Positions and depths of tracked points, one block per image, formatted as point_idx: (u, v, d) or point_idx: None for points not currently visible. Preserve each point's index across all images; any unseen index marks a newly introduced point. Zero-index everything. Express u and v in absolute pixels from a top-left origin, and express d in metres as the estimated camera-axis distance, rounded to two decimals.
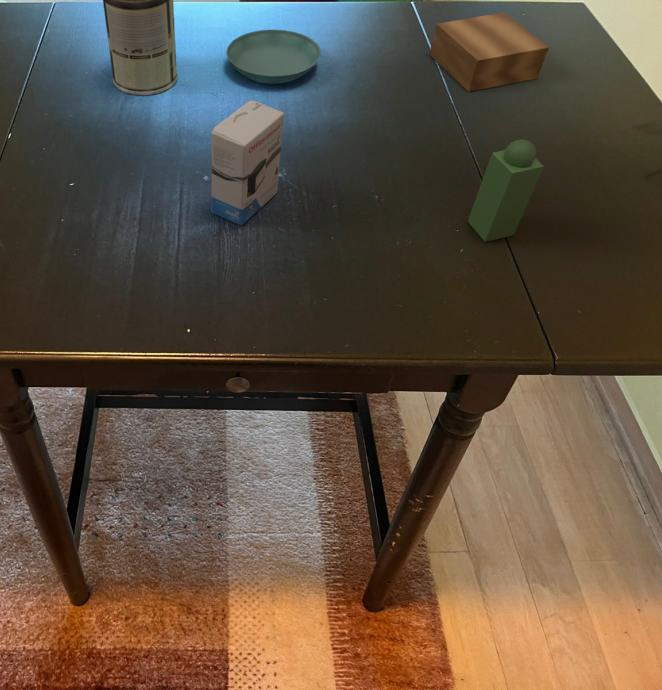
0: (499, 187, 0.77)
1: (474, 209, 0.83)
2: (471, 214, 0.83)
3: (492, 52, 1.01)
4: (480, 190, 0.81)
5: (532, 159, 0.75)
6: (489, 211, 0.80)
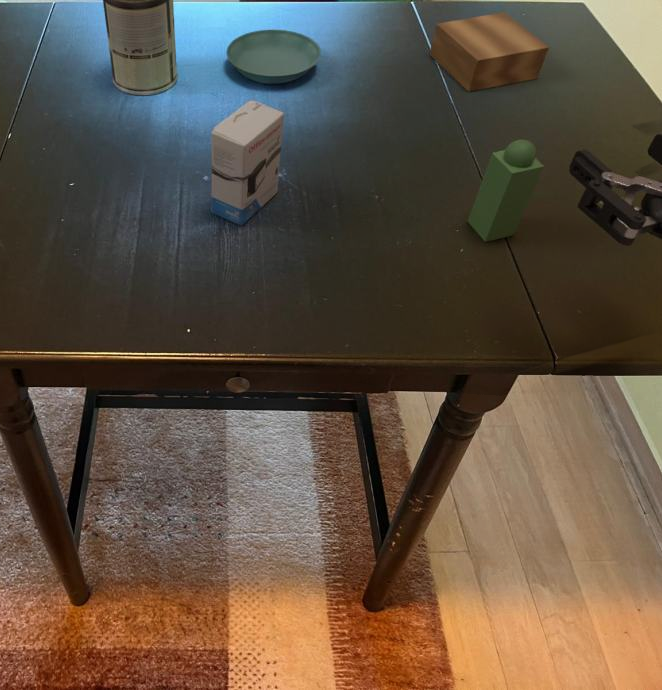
0: (499, 187, 0.77)
1: (474, 209, 0.83)
2: (471, 214, 0.83)
3: (492, 52, 1.01)
4: (480, 190, 0.81)
5: (532, 159, 0.75)
6: (489, 211, 0.80)
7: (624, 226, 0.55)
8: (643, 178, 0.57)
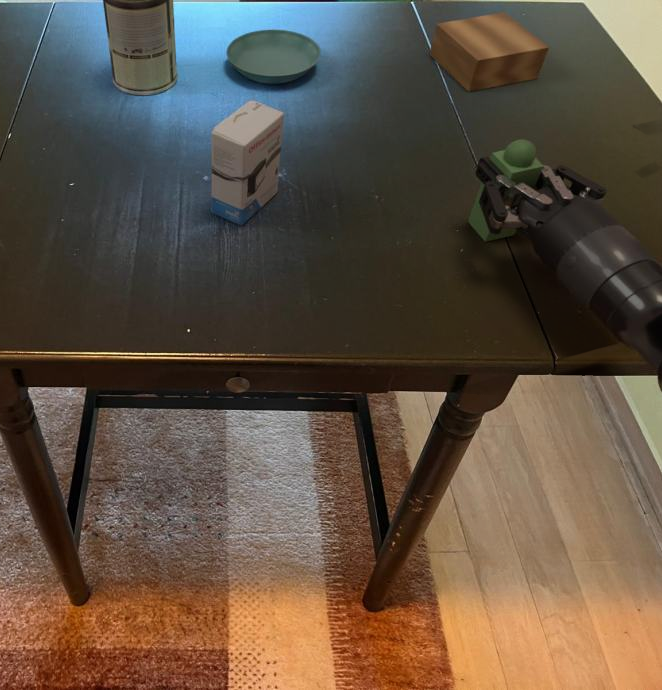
0: None
1: (474, 209, 0.83)
2: (471, 214, 0.83)
3: (492, 52, 1.01)
4: (480, 190, 0.81)
5: (532, 159, 0.75)
6: None
7: (492, 218, 0.72)
8: (523, 184, 0.74)
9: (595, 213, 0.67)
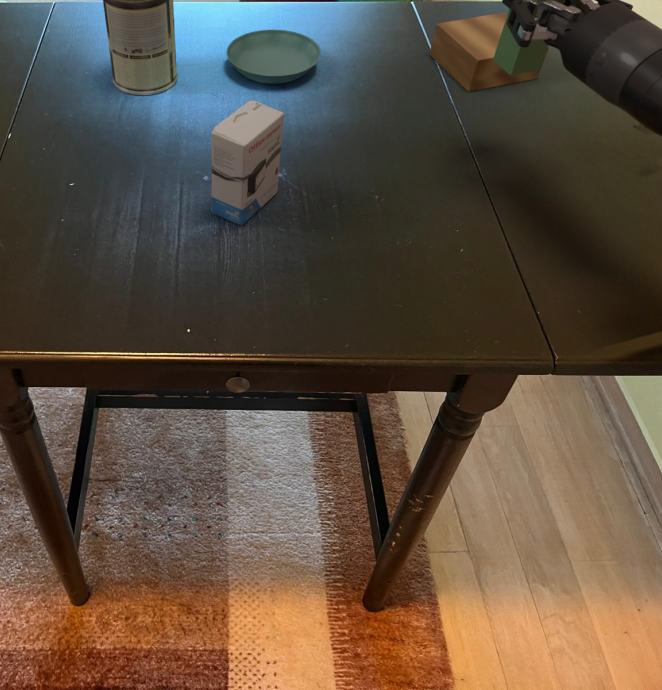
0: None
1: (500, 44, 0.84)
2: (497, 51, 0.85)
3: (492, 52, 1.01)
4: (506, 21, 0.82)
5: None
6: (515, 41, 0.81)
7: (521, 30, 0.74)
8: (551, 0, 0.75)
9: (625, 11, 0.69)
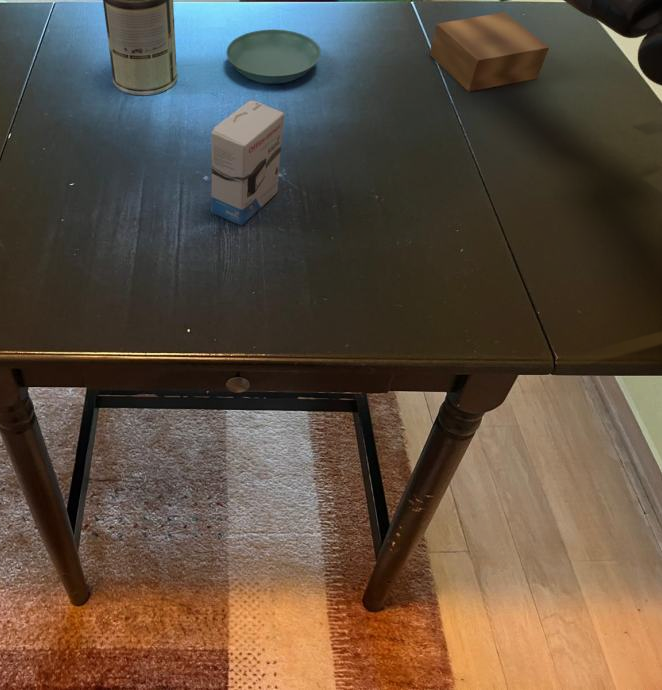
0: None
1: None
2: None
3: (492, 52, 1.01)
4: None
5: None
6: None
7: None
8: None
9: None
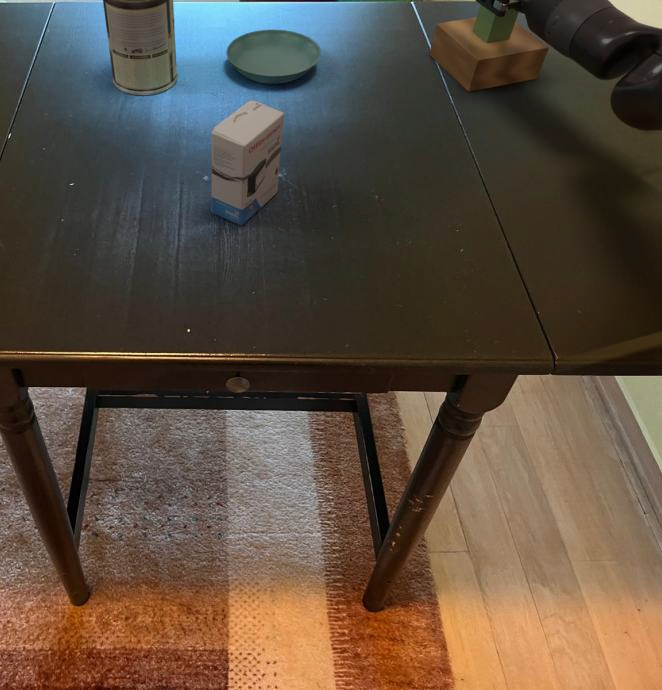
0: None
1: (478, 17, 1.03)
2: (475, 23, 1.04)
3: (492, 52, 1.01)
4: None
5: None
6: (490, 14, 1.01)
7: (499, 3, 0.92)
8: None
9: None
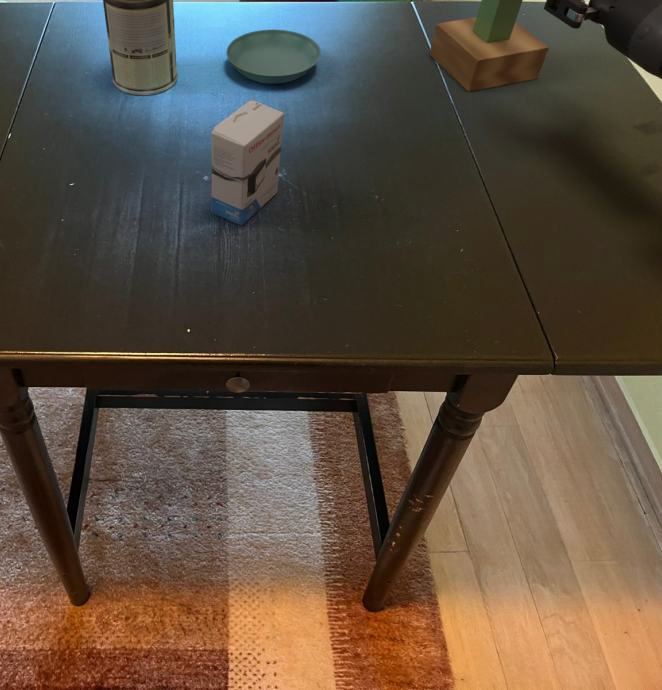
0: None
1: (478, 17, 1.03)
2: (475, 23, 1.04)
3: (492, 52, 1.01)
4: None
5: None
6: (490, 14, 1.01)
7: (574, 13, 0.80)
8: None
9: None
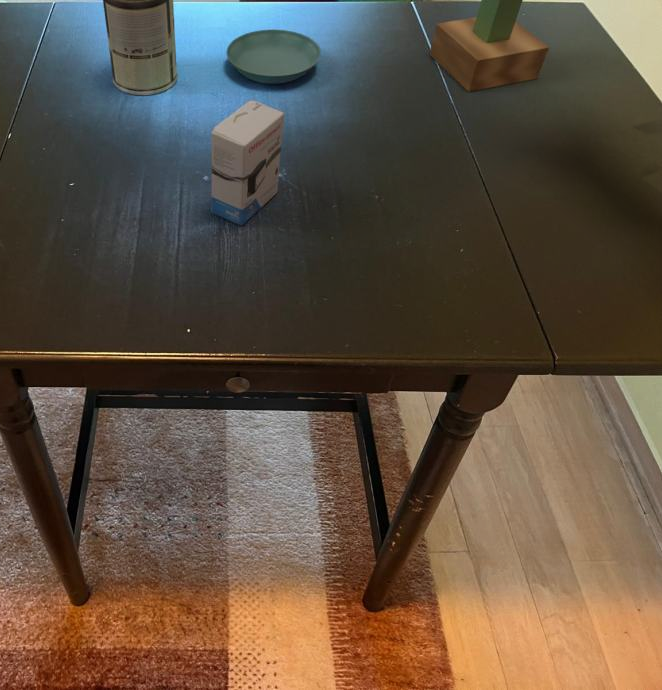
0: None
1: (478, 17, 1.03)
2: (475, 23, 1.04)
3: (492, 52, 1.01)
4: None
5: None
6: (490, 14, 1.01)
7: None
8: None
9: None
